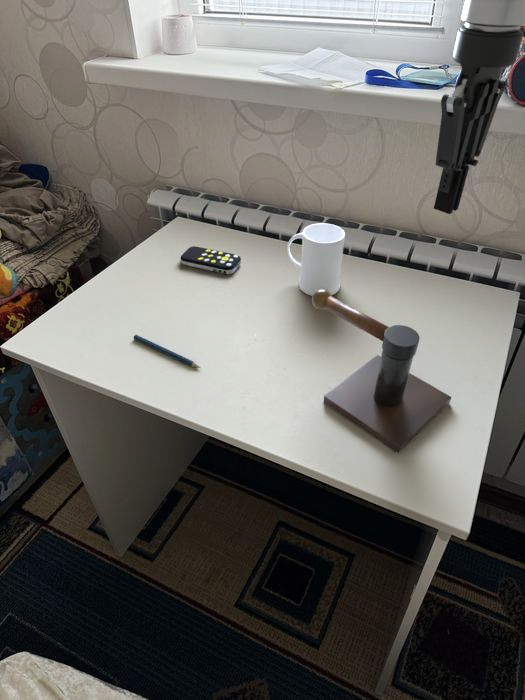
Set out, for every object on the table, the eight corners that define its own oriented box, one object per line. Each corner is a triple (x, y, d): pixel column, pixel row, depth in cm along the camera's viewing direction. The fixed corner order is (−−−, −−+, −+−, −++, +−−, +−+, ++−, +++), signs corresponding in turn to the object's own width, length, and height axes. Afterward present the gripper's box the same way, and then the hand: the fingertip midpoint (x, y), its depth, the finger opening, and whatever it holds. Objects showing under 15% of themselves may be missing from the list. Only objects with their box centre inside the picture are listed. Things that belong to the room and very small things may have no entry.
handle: (422, 350, 72) (427, 333, 70) (403, 366, 70) (407, 349, 68) (323, 297, 82) (325, 280, 80) (303, 309, 80) (304, 292, 78)
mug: (277, 284, 105) (278, 231, 97) (298, 265, 111) (300, 214, 103) (328, 302, 100) (333, 248, 92) (347, 282, 106) (353, 229, 98)
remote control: (191, 251, 115) (190, 243, 114) (243, 262, 112) (243, 254, 110) (178, 264, 111) (177, 256, 109) (231, 276, 107) (231, 268, 106)
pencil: (137, 337, 92) (202, 368, 86) (133, 340, 91) (199, 371, 85) (136, 333, 91) (202, 364, 85) (133, 336, 91) (198, 367, 85)
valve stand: (449, 403, 80) (468, 350, 72) (398, 454, 72) (413, 400, 65) (376, 360, 87) (386, 309, 80) (323, 402, 80) (329, 349, 72)
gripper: (490, 16, 67) (447, 188, 82) (433, 29, 60) (398, 215, 75) (547, 22, 63) (491, 202, 78) (493, 37, 56) (443, 232, 71)
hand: (445, 208), depth 77 cm, fingers closed
